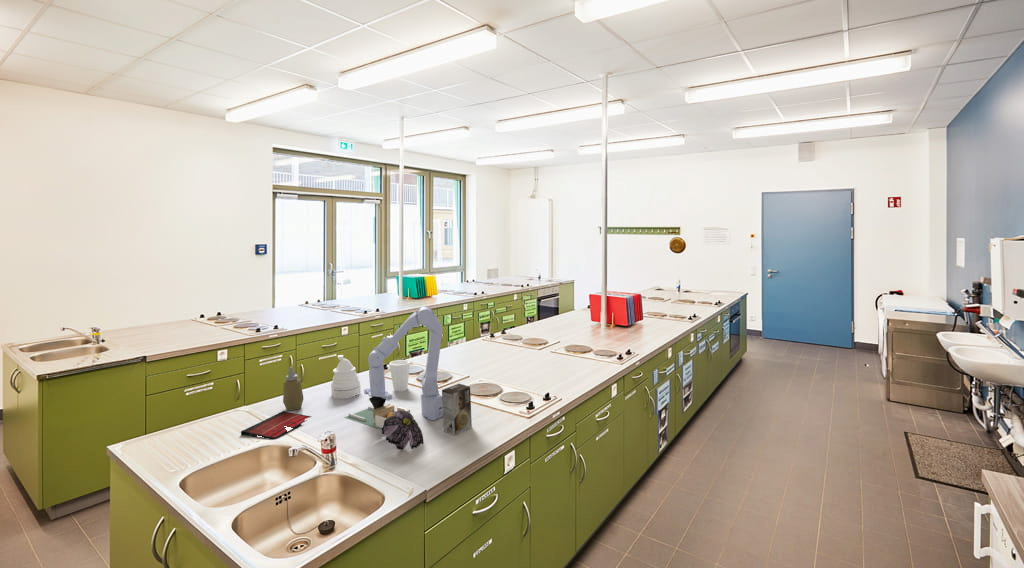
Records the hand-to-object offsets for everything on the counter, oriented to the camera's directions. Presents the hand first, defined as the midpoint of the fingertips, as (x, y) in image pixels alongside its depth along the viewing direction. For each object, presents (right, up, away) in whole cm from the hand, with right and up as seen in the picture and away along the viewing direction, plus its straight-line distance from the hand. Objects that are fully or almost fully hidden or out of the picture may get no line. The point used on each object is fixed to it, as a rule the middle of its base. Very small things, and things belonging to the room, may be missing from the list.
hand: (379, 414), depth 189 cm
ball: (+6, 0, -5) cm, 8 cm away
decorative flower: (+15, -5, -21) cm, 26 cm away
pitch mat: (0, -2, +1) cm, 2 cm away
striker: (+3, -2, -2) cm, 3 cm away
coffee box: (+32, -3, -10) cm, 34 cm away
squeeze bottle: (-41, -2, +16) cm, 44 cm away
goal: (+7, -3, -5) cm, 9 cm away
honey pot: (-25, 0, +34) cm, 42 cm away
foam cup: (0, +1, +38) cm, 38 cm away
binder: (-38, -4, -4) cm, 38 cm away
